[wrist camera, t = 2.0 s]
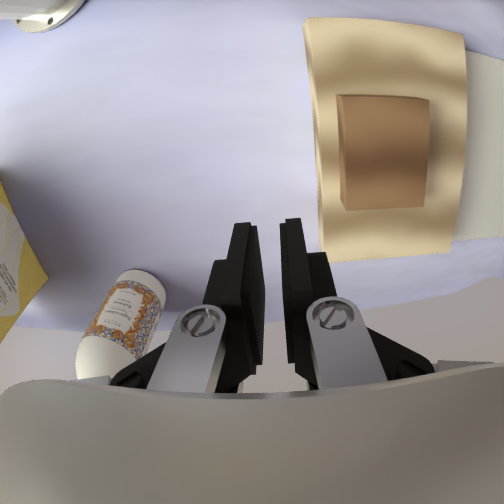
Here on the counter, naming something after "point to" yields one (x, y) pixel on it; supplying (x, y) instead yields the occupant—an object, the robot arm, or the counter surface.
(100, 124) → the counter surface
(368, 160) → the walnut tile
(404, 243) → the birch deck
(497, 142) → the cream mat
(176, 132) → the counter surface
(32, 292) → the pasta box
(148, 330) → the bath foam
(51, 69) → the counter surface
